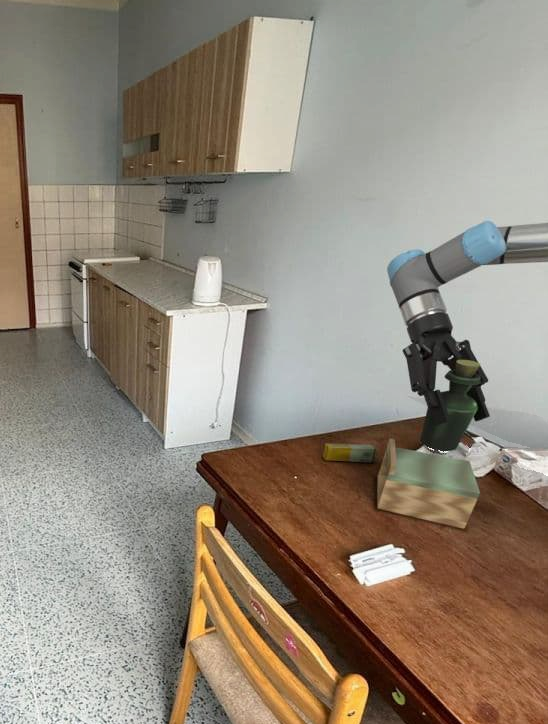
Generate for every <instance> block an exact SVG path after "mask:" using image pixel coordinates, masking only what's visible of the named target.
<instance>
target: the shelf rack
mask: <svg viewBox="0 0 548 724" xmlns="http://www.w3.org/2000/svg"><path fill="white" fill-rule="evenodd" d="M376 488H377V495H376V496H377V500H376V502H377V505H376V506H377V507H376V509H379V510H383V511H387V512H391V513H396V514H400V515H404V516H408V517H413V518H416V519H421V520H425V521H429V522H434V523H438V524H442V525H447V526H451V527H456V528H458V529H459V528H460V529H464V530H465V528H466V526H467V524H468V521H469V519H470V517H471V515H472V513H473V511H474V508H475V506H476V504H477V501H478V499H479V496H480V494H481V491H480V489H479V486H478V482H477V479H476V476H475V474H474V470H473V467H472V463H471V461H470V460H467V459H461V458H457V457H450V456H445V455H441V454H434V453H428V452H423V451H417V450H412V449H407V448H401V447H397V446H396V440H395V438H391V437H390V438H389V439H388V443H387V446H386V449H385V453H384V456H383V459H382V462H381V465H380V469H379V471H378V475H377V487H376Z"/></svg>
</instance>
